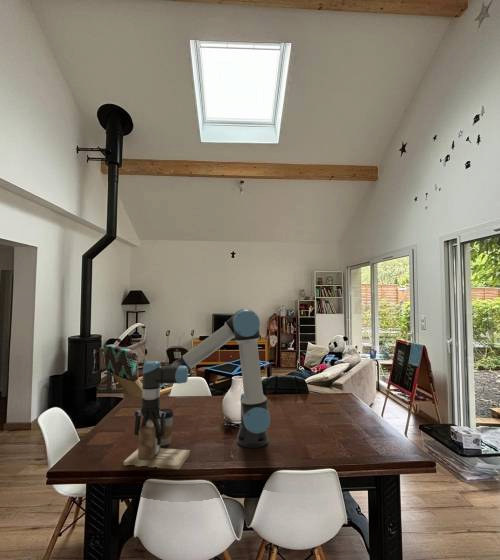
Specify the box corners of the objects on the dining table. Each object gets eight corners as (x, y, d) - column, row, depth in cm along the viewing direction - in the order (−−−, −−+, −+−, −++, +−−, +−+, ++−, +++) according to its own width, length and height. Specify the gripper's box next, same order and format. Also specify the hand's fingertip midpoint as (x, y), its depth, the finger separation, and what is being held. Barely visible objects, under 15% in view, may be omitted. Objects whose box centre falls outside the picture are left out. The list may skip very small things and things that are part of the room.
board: (190, 453, 145) (190, 450, 146) (178, 469, 132) (179, 465, 132) (139, 450, 149) (139, 446, 149) (123, 465, 135) (123, 461, 135)
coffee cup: (155, 447, 151) (155, 414, 152) (155, 440, 159) (155, 409, 160) (173, 445, 154) (174, 413, 155) (172, 438, 162) (173, 407, 163)
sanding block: (160, 450, 145) (161, 422, 146) (151, 459, 136) (152, 429, 137) (147, 449, 146) (148, 421, 147) (137, 458, 137) (138, 429, 138)
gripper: (174, 395, 145) (173, 449, 143) (134, 394, 148) (133, 446, 146) (168, 400, 138) (167, 457, 136) (126, 398, 140) (124, 454, 138)
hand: (149, 451), depth 141 cm, fingers closed on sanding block, 6 cm apart
